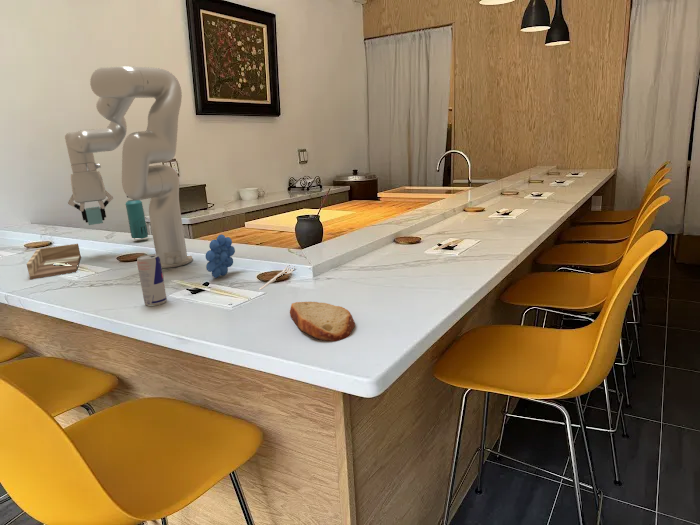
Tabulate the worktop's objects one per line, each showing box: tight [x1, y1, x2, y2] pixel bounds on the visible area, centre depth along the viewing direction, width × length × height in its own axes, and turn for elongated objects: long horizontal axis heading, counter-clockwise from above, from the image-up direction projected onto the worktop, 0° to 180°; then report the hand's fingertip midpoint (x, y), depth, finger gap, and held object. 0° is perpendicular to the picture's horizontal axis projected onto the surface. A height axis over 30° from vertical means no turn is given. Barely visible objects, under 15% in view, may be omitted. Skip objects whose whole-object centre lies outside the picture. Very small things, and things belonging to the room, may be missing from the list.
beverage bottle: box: [124, 195, 149, 239], centre depth 206 cm, size 6×7×20 cm
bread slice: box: [289, 301, 356, 342], centre depth 109 cm, size 18×18×4 cm
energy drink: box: [136, 253, 168, 306], centre depth 129 cm, size 5×5×12 cm
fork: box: [258, 266, 294, 290], centre depth 144 cm, size 3×20×2 cm, turn 161°
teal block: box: [85, 206, 104, 226], centre depth 182 cm, size 9×4×5 cm, turn 27°
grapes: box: [205, 234, 236, 279], centre depth 149 cm, size 12×7×12 cm, turn 152°
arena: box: [26, 243, 82, 280], centre depth 174 cm, size 24×13×5 cm, turn 24°
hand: (95, 220), depth 182 cm, fingers closed on teal block, 4 cm apart
